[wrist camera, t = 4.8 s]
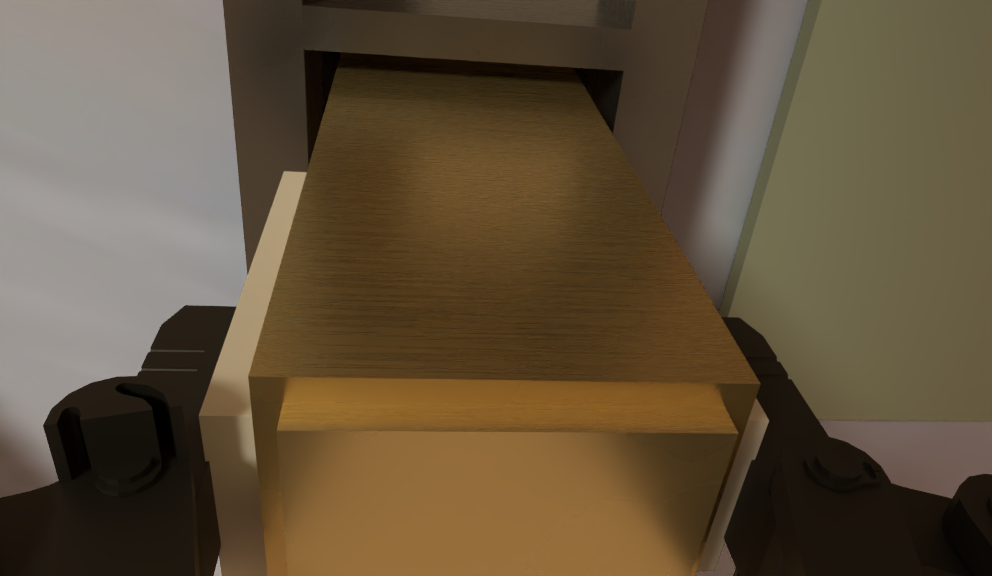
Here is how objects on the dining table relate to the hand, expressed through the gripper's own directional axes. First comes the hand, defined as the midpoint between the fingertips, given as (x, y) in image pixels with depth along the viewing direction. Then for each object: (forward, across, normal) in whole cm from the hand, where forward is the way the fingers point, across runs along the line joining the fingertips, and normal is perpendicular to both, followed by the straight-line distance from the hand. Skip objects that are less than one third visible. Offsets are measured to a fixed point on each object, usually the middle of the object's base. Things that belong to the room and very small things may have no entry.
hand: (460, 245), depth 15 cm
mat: (+5, +13, -1) cm, 14 cm away
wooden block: (+5, 0, 0) cm, 5 cm away
